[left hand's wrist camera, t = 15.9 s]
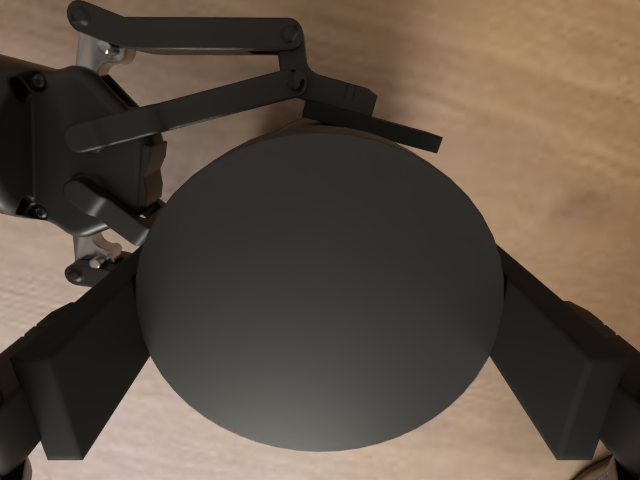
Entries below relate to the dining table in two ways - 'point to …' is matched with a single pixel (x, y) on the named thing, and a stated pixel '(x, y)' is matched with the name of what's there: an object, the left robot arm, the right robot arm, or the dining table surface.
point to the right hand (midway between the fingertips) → (398, 233)
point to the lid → (319, 290)
